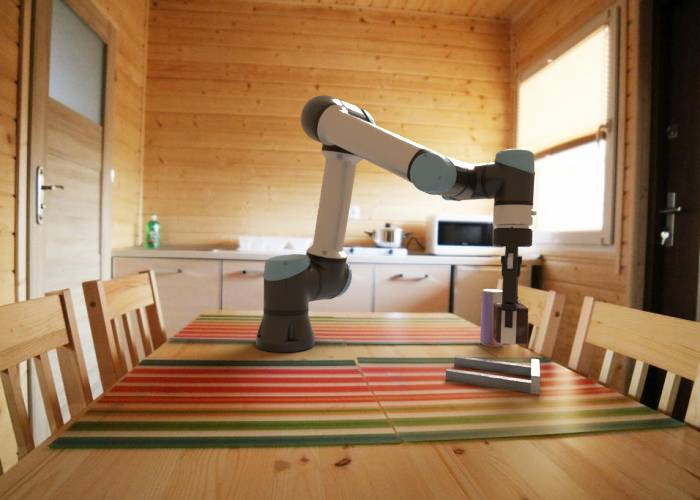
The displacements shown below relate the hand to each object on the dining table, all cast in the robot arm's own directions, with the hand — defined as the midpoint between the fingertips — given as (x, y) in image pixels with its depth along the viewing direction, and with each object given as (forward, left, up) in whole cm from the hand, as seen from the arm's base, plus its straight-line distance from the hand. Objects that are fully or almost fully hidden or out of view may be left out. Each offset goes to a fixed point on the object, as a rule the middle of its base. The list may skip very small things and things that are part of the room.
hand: (509, 339), depth 87 cm
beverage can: (-6, +29, -9) cm, 31 cm away
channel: (-4, 0, -9) cm, 9 cm away
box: (0, 0, -1) cm, 1 cm away
